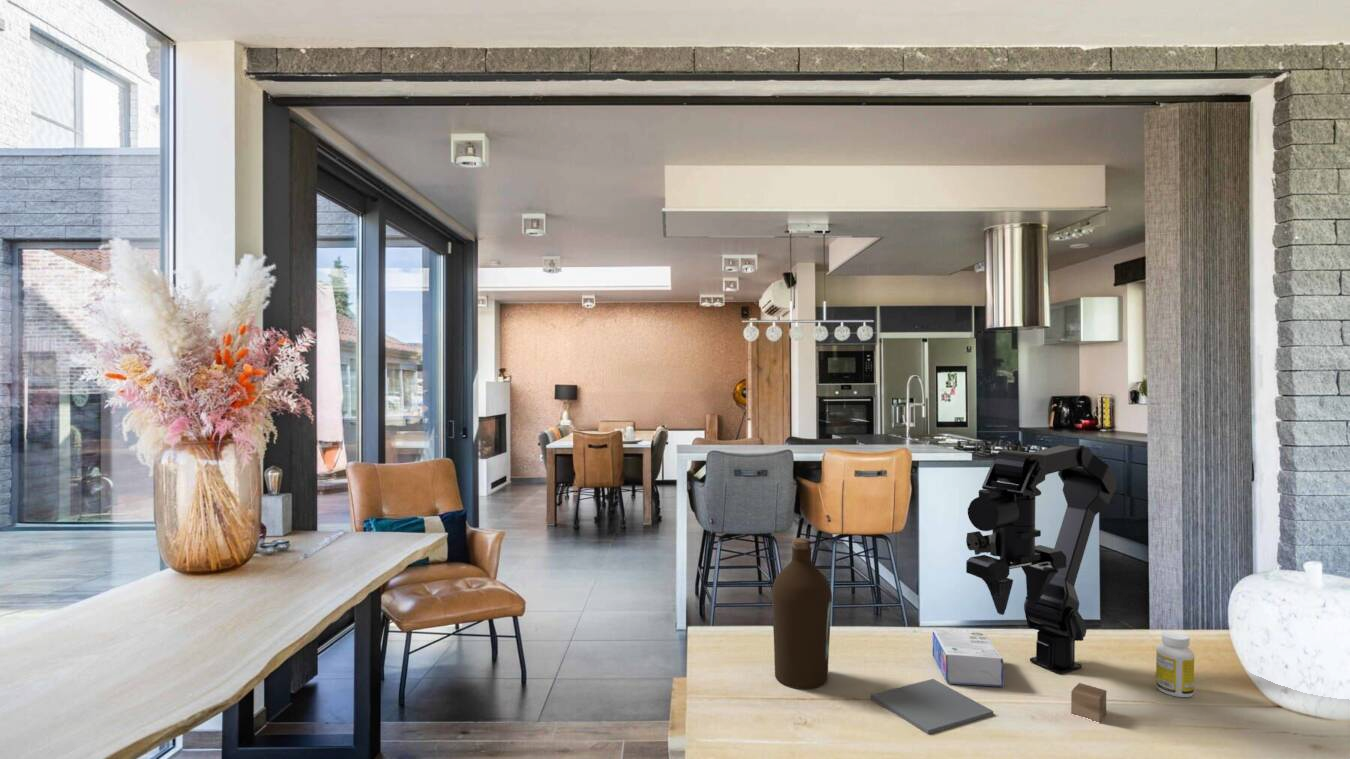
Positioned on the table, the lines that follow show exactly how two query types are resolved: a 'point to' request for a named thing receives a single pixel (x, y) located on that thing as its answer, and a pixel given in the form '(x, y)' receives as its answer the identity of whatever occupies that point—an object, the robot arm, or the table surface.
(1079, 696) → the walnut block
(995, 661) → the ink cartridge box
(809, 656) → the olive oil
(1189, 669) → the supplement bottle
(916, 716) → the mat
